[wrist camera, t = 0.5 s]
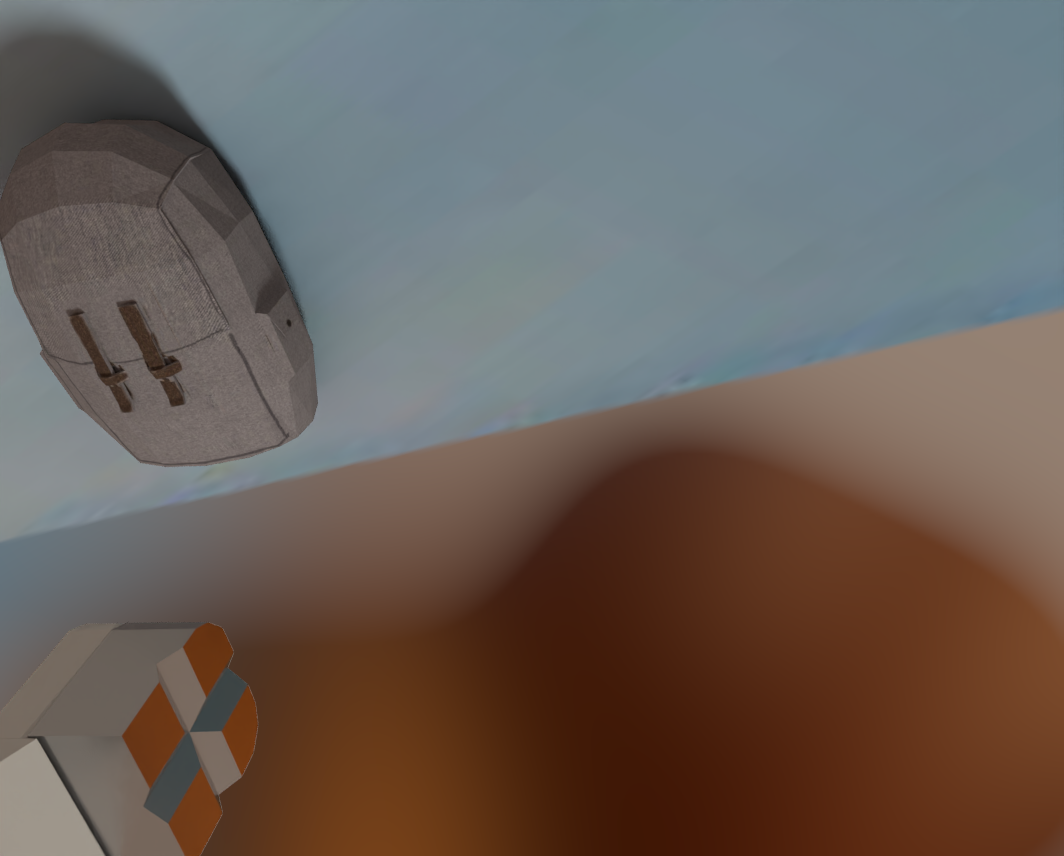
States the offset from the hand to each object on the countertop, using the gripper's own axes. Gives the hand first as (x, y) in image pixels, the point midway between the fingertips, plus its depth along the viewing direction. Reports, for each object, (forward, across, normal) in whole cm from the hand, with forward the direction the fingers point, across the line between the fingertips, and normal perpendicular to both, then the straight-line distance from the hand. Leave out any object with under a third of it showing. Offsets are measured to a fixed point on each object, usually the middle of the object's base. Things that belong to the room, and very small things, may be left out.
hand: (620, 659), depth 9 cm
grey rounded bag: (+43, +31, +9) cm, 54 cm away
